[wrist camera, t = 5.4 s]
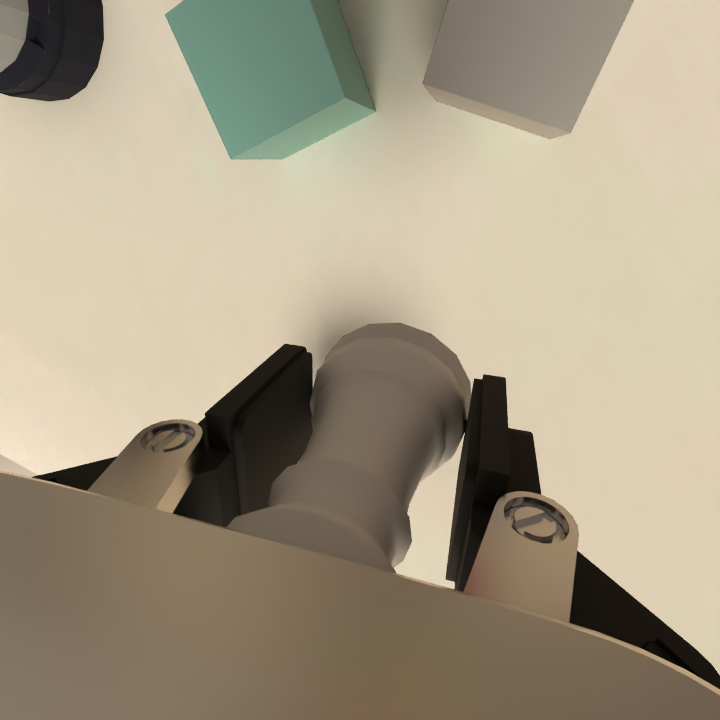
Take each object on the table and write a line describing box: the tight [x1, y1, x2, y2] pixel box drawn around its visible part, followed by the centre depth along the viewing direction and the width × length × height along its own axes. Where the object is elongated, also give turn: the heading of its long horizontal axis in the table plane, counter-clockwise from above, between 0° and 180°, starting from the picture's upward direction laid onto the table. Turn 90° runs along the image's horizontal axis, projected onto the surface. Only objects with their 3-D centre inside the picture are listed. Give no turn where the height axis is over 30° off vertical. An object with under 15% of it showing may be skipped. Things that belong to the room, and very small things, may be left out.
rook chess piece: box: [226, 323, 471, 573], centre depth 9 cm, size 4×4×8 cm
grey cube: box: [423, 0, 634, 139], centre depth 15 cm, size 5×5×5 cm
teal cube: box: [165, 0, 376, 159], centre depth 17 cm, size 5×5×5 cm
